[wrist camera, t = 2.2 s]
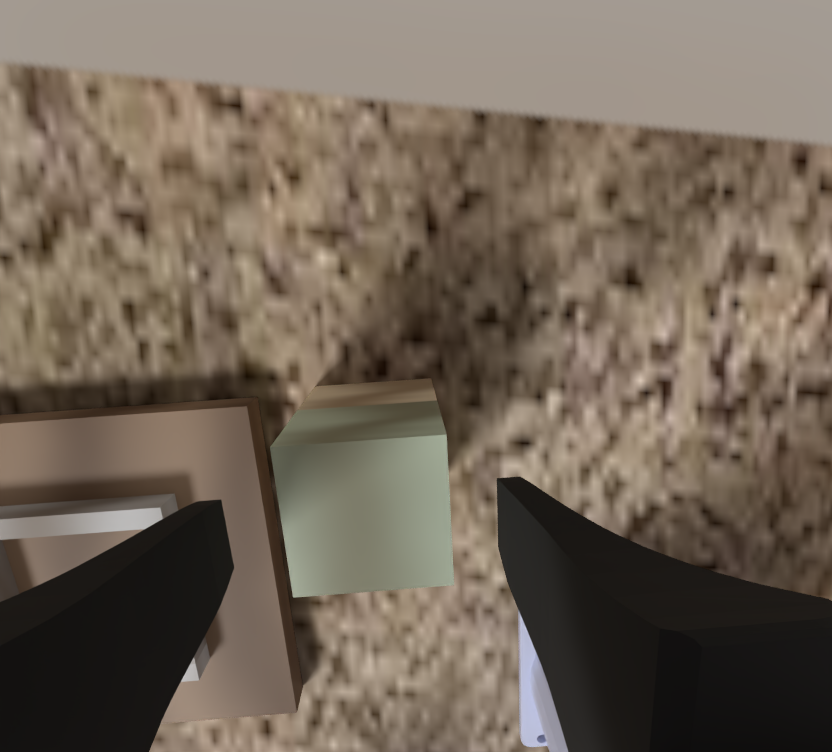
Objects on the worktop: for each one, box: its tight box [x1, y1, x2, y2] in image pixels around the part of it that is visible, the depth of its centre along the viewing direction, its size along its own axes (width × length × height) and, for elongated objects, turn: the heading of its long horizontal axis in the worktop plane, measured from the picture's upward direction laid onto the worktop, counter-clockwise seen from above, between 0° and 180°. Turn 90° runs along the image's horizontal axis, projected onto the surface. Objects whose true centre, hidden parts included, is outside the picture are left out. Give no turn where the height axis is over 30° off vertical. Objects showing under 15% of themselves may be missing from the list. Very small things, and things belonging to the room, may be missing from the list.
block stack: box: [270, 378, 454, 598], centre depth 14 cm, size 4×4×6 cm
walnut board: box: [0, 397, 303, 724], centre depth 17 cm, size 14×14×2 cm
